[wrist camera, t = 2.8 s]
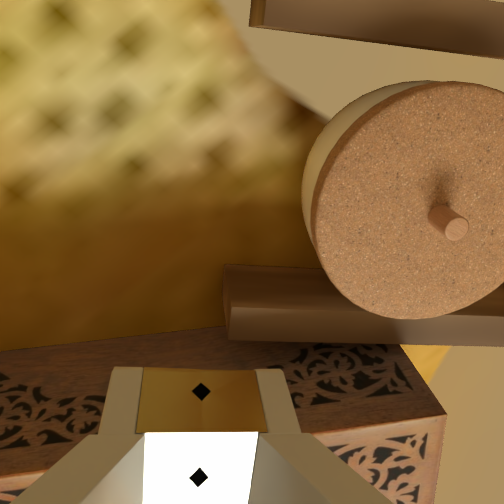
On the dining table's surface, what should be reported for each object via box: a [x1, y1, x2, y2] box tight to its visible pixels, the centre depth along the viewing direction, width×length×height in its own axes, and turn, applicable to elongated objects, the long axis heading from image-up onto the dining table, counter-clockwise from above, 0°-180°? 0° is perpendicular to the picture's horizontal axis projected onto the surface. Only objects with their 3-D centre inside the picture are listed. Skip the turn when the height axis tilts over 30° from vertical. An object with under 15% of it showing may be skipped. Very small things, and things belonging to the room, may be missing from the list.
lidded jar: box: [302, 80, 504, 319], centre depth 23 cm, size 11×11×9 cm
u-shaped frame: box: [222, 0, 504, 347], centre depth 26 cm, size 17×24×5 cm
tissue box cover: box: [0, 326, 447, 504], centre depth 29 cm, size 26×14×10 cm, turn 93°
